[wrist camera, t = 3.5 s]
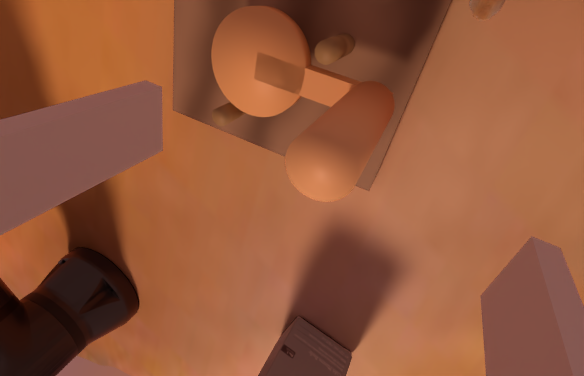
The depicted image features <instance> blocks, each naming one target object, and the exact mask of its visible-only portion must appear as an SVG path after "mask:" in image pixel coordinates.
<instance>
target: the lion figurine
mask: <svg viewBox="0 0 584 376" xmlns="http://www.w3.org/2000/svg"><path fill="white" fill-rule="evenodd" d="M504 2H505V0H470V2H469V5H470V8H471V10H472V12H473V16H474V17H475V18H476V19H478V20H479V21H486V20H488V19H490V18H491V17H492V16H493V15H495V14H496V13H497V12H498V11H499V10H500V9H501V7H502V6H503V4H504Z"/></svg>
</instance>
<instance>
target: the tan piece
mask: <svg viewBox="0 0 584 376" xmlns="http://www.w3.org/2000/svg"><path fill="white" fill-rule="evenodd" d="M211 59H212V67H213V72H214V75H215V78H216V81H217V83H218V85H219V87H220V89H221V91H222V92H223V94H224V95H225V96H226V98H227V99H228V100H229V101H230V102H231V103H232V104H233V105H234V106H235V107H237V108H238V109H240V110H241V111H243V112H245V113H247V114H249V115H252V116H257V117H271V116H275V115H278V114H280V113H282V112H283V111H285V110H287V109H288V108H290V107H291V106H293V105H294V104H295V103H296V102H297V101H298V100H299V99H300V98H301V97H305V98H307V99H310V100H313V101H316V102H318V103H321V104H324V105H326V106H329V107H331V108H329V109H328V110H327V111H326V112H325V113H324V114H323V115H321V116H320V117H319V118H318V119H317V120H316V121H315V122H314V123H312V124H311V125H310V126H309V127H308V128H307V129H306V130H304V131H303V132H302V133H301V134H300V135H299V136H298V137H297V138H295V139H294V140H293V141H292V143H291V144H290V145H289V147H288V149H287V152H286V156H285V167H286V172H287V174H288V177H289V179H290V181H291V182H292V184H293V185H294V186H295V187H296V188H297V189H298V190H299V191H300V192H301V193H302V194H304V195H305V196H307V197H309V198H311V199H314V200H317V201H322V202H331V201H336V200H339V199H342V198H344V197H345V196H347V195H348V194H349V193H350V192H351V191H352V190H353V188H354V187H355V185H356V183H357V181H358V179H359V177H360V175H361V173H362V172H363V170H364V168H365V166H366V164H367V162H368V160H369V158H370V156H371V155H372V153H373V151H374V149H375V147H376V145H377V143H378V141H379V139H380V138H381V136H382V134H383V132H384V130H385V128H386V126H387V124H388V122H389V121H390V119H391V117H392V115H393V112H394V106H395V104H394V98H393V93H392V92H390V90H389V89H388V88H387V87H386V86H385V85H383V84H381V83H379V82H376V81H364V82H360V81H357V80H354V79H351V78H348V77H345V76H343V75H340V74H337V73H334V72H331V71H328V70H325V69H322V68H319V67H316V66H313V65H311V55H310V49H309V46H308V43H307V40H306V38H305V36H304V34H303V32H302V30H301V29H300V27H299V26H298V25H297V23H296V22H295V21H294V20H293V19H292V18H291V17H290V16H288V15H287V14H286V13H284V12H282V11H281V10H279V9H276V8H274V7H269V6H246V7H242V8H239V9H237V10H235V11H233V12H231V13H230V14H229V15H227V16H226V17H225V18H224V19H223V21H222V22H221V23H220V25H219V27H218V28H217V30H216V33H215V35H214V39H213V43H212V50H211Z"/></svg>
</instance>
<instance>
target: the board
mask: <svg viewBox="0 0 584 376" xmlns="http://www.w3.org/2000/svg"><path fill="white" fill-rule="evenodd" d="M450 3H451V0H174V60H173V110H174V111H176V112H178V113H181V114H183V115H186V116H188V117H190V118H193V119H195V120H198V121H200V122H203V123H205V124H207V125H210V126H212V127H215V128H217V129H220V130H222V131H224V132H227V133H229V134H232V135H234V136H236V137H239V138H241V139H244V140H246V141H249V142H251V143H253V144H256V145H258V146H261V147H263V148H266V149H268V150H270V151H273V152H275V153H278V154H280V155H282V156H286V152H287V149H288V147H289V145H290V144H291V143H292V141H293V140H294V139H295V138H297V137H298V136H299V135H300V134H301V133H302V132H303V131H304V130H306V129H307V128H308V127H309V126H310V125H311V124H312V123H314V122H315V121H316V120H317V119H318V118H319V117H320V116H321V115H323V114H324V113H325V112H326V111H327V110H328V109H329V108H331V107H329V106H326V105H324V104H321V103H318V102H316V101H313V100H310V99H307V98H305V97H301V98H300V99H299V100H298V101H297V102H296V103H295V104H294V105H293V106H291V107H290V108H288V109H287V110H285V111H283V112H282V113H280V114H278V115H275V116H271V117H257V116H252V115H249V114H247V113H245V112H243V111H241V110H240V109H238V108H237V107H235V106H234V105H233V104H232V103H231V102H230V101H229V100H228V99H227V98H226V96H225V95H224V94H223V92H222V91H221V89H220V87H219V85H218V83H217V81H216V78H215V75H214V72H213V67H212V59H211V50H212V43H213V39H214V35H215V33H216V30H217V28H218V27H219V25H220V23H221V22H222V21H223V19H224V18H225V17H226V16H227V15H229V14H230V13H231V12H233V11H235V10H237V9H239V8H242V7H246V6H269V7H274V8H276V9H279V10H281V11H282V12H284V13H286V14H287V15H288V16H290V17H291V18H292V19H293V20H294V21H295V22H296V23H297V25H298V26H299V27H300V29H301V30H302V32H303V34H304V36H305V38H306V40H307V43H308V46H309V49H310V55H311V65H313V66H316V67H319V68H322V69H325V70H328V71H331V72H334V73H337V74H340V75H343V76H345V77H348V78H351V79H354V80H357V81H360V82H364V81H376V82H379V83H381V84H383V85H385V86H386V87H387V88H388V89H389V90H390V92H392V93H393V98H394V104H395V106H394V112H393V115H392V117H391V119H390V121H389V122H388V124H387V126H386V128H385V130H384V132H383V134H382V136H381V138H380V139H379V141H378V143H377V145H376V147H375V149H374V151H373V153H372V155H371V156H370V158H369V160H368V162H367V164H366V166H365V168H364V170H363V172H362V173H361V175H360V177H359V179H358V181H357V183H356V185H355V186H358V187H360V188H362V189H365V190H367V191H369V190H370V188H371V186H372V184H373V181H374V179H375V177H376V174H377V172H378V170H379V167H380V165H381V163H382V160H383V158H384V156H385V153H386V151H387V149H388V147H389V144H390V142H391V140H392V137H393V135H394V133H395V130H396V128H397V126H398V123H399V121H400V119H401V116H402V114H403V112H404V109H405V107H406V105H407V102H408V100H409V98H410V95H411V93H412V91H413V88H414V86H415V84H416V81H417V79H418V77H419V75H420V72H421V70H422V68H423V65H424V63H425V61H426V58H427V56H428V54H429V51H430V49H431V47H432V44H433V42H434V40H435V37H436V35H437V33H438V30H439V28H440V26H441V23H442V21H443V19H444V16H445V14H446V12H447V9H448V7H449V5H450Z"/></svg>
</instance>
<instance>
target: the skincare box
mask: <svg viewBox="0 0 584 376" xmlns="http://www.w3.org/2000/svg"><path fill="white" fill-rule="evenodd" d="M351 359H352V355H351V352H350V351H348V350H347V349H345V348H343V347H342V346H341V345H339V344H338V343H336V342H335V341H333V340H332V339H331V338H329V337H328V336H326V335H325V334H323V333H322V332H320V331H319V330H318V329H316V328H315V327H313V326H312V325H311V324H309V323H308V322H306V321H305V320H304V319H302V318H301V317H300V316H298V317H297V318H296V319H295V320H294V321H293V322H292V324H291V325H290V326H289V327H288V328H287V329H286V330H285V332H284V333H283V334H282V335H281V336H280V338H279V340H278V341H277V343H276V345H275V346H274V348H273V350H272V352H271V353H270V355H269V357H268V359H267V361H266V362H265V364H264V366H263V368H262V370H261V371H260V373H259V375H258V376H346V374H347V371H348V368H349V365H350V362H351Z"/></svg>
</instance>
